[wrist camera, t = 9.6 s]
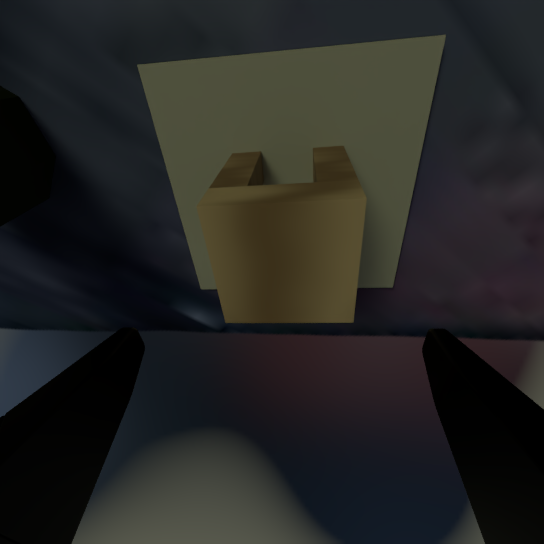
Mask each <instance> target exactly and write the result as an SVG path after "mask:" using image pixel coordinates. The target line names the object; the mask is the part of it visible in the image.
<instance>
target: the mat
mask: <svg viewBox="0 0 544 544" xmlns="http://www.w3.org/2000/svg"><path fill="white" fill-rule="evenodd" d="M445 37H446V35H439V36H429V37H418V38H408V39H398V40H388V41H377V42H367V43H357V44H347V45H336V46H326V47H316V48H306V49H295V50H285V51H275V52H264V53H254V54H244V55H234V56H223V57H213V58H203V59H193V60H182V61H172V62H162V63H152V64H141V65H137V66H138V70H139V73H140V77H141V80H142V84H143V87H144V91H145V94H146V98H147V101H148V105H149V108H150V112H151V115H152V119H153V122H154V126H155V129H156V133H157V136H158V140H159V143H160V147H161V150H162V154H163V157H164V161H165V164H166V168H167V171H168V175H169V178H170V182H171V185H172V189H173V193H174V196H175V200H176V203H177V207H178V210H179V214H180V217H181V221H182V224H183V228H184V231H185V235H186V238H187V242H188V245H189V249H190V252H191V256H192V259H193V263H194V266H195V270H196V273H197V277H198V280H199V284H200V287H201V289H217V287H216V283H215V279H214V275H213V271H212V267H211V263H210V259H209V255H208V251H207V247H206V243H205V239H204V235H203V231H202V227H201V223H200V219H199V215H198V212H197V208H196V206H197V205H198V203H199V202H200V200H201V199H202V197H203V196H204V194H205V193H206V192H207V190H208V189H209V187H210V186H211V184H212V183H213V181H214V180H215V178H216V177H217V175H218V174H219V172H220V171H221V169H222V168H223V166H224V165H225V163H226V162H227V160H228V159H229V157H230V156H231V155H232V153H245V152H259V151H261V156H262V166H263V176H264V182H263V185H276V184H294V183H312V182H313V148H317V147H331V146H344V148H345V150H346V153H347V155H348V157H349V159H350V162H351V164H352V166H353V168H354V171H355V173H356V175H357V177H358V180H359V182H360V184H361V186H362V189H363V191H364V193H365V195H366V198H367V202H366V211H365V220H364V229H363V238H362V248H361V257H360V266H359V275H358V285H357V288H393V284H394V279H395V274H396V270H397V265H398V260H399V255H400V251H401V246H402V241H403V236H404V232H405V227H406V222H407V217H408V213H409V208H410V203H411V198H412V194H413V189H414V184H415V179H416V175H417V170H418V165H419V160H420V156H421V151H422V146H423V142H424V137H425V132H426V127H427V123H428V118H429V113H430V108H431V104H432V99H433V94H434V89H435V85H436V80H437V75H438V70H439V66H440V61H441V56H442V51H443V47H444V42H445Z"/></svg>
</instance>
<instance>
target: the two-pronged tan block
mask: <svg viewBox="0 0 544 544" xmlns="http://www.w3.org/2000/svg"><path fill="white" fill-rule="evenodd" d="M263 182H264V176H263V166H262V156H261V151H259V152H245V153H232V155H231V156H230V157H229V159H228V160H227V162H226V163H225V165H224V166H223V168H222V169H221V171H220V172H219V174H218V175H217V177H216V178H215V180H214V181H213V183H212V184H211V186H210V187H209V189H208V190H207V192H206V193H205V194H204V196H203V197H202V199H201V200H200V202H199V203H198V205H197V206H196V208H197V212H198V215H199V219H200V223H201V227H202V231H203V235H204V239H205V243H206V247H207V251H208V255H209V259H210V263H211V267H212V271H213V275H214V279H215V283H216V287H217V290H218V294H219V298H220V302H221V306H222V310H223V314H224V318H225V322H226V323H353V322H354V312H355V303H356V294H357V285H358V275H359V266H360V257H361V248H362V238H363V229H364V220H365V211H366V202H367V198H366V195H365V193H364V191H363V189H362V186H361V184H360V182H359V180H358V177H357V175H356V173H355V171H354V168H353V166H352V164H351V162H350V159H349V157H348V155H347V153H346V150H345V148H344V146H331V147H317V148H313V182H312V183H294V184H276V185H263Z"/></svg>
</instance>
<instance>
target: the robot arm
mask: <svg viewBox="0 0 544 544" xmlns="http://www.w3.org/2000/svg"><path fill="white" fill-rule="evenodd" d="M144 351H145V346H144V342H143V341H142V338H141V336H140V334H139V332H138V330H137V329H136V328H121V329H120V330H118V331H117V332H116V333H114V334H113V335H112V336H110V337H109V338H108V339H106V340H105V341H103V342H102V343H101V344H99V345H98V346H97V347H95V348H94V349H93V350H91V351H90V352H88V353H87V354H86V355H84V356H83V357H82V358H80V359H79V360H78V361H76V362H75V363H74V364H72V365H71V366H70V367H68V368H67V369H65V370H64V371H63V372H61V373H60V374H59V375H57V376H56V377H55V378H53V379H52V380H51V381H49V382H48V383H47V384H45V385H44V386H42V387H41V388H40V389H38V390H37V391H36V392H34V393H33V394H32V395H30V396H29V397H27V398H26V399H25V400H24V401H22V402H21V403H19V404H18V405H17V406H15V407H14V408H13V409H11V410H10V411H9V412H7V413H6V414H5V416H2V417H0V544H72V541H73V539H74V536H75V534H76V531H77V529H78V526H79V524H80V521H81V519H82V516H83V514H84V511H85V509H86V507H87V504H88V501H89V499H90V497H91V494H92V492H93V489H94V487H95V484H96V482H97V479H98V477H99V474H100V472H101V470H102V467H103V464H104V462H105V459H106V457H107V455H108V452H109V450H110V447H111V445H112V442H113V440H114V438H115V435H116V433H117V430H118V428H119V425H120V423H121V420H122V418H123V415H124V413H125V410H126V408H127V405H128V403H129V400H130V397H131V395H132V392H133V389H134V385H135V382H136V379H137V375H138V372H139V368H140V365H141V361H142V357H143V354H144ZM422 353H423V358H424V362H425V366H426V370H427V374H428V379H429V382H430V387H431V391H432V395H433V399H434V402H435V406H436V409H437V412H438V415H439V418H440V421H441V423H442V426H443V429H444V432H445V434H446V437H447V440H448V443H449V445H450V448H451V451H452V454H453V456H454V459H455V462H456V465H457V467H458V470H459V473H460V475H461V478H462V481H463V484H464V487H465V489H466V492H467V495H468V498H469V500H470V503H471V506H472V509H473V511H474V514H475V517H476V519H477V522H478V525H479V528H480V530H481V533H482V536H483V539H484V542H485V544H544V409H542V408H541V407H540V406H539V405H538V404H536V403H535V402H534V401H533V400H531V399H530V398H529V397H528V396H527V395H525V394H524V393H523V392H522V391H520V390H519V389H518V388H517V387H516V386H514V385H513V384H512V383H511V382H509V381H508V380H507V379H506V378H505V377H503V376H502V375H501V374H500V373H498V372H497V371H496V370H495V369H494V368H492V367H491V366H490V365H489V364H488V363H486V362H485V361H484V360H483V359H481V358H480V357H479V356H478V355H477V354H475V353H474V352H473V351H472V350H470V349H469V348H468V347H467V346H466V345H464V344H463V343H462V342H461V341H460V340H458V339H457V338H456V337H455V336H453V335H452V334H451V333H450V332H449V331H447V330H446V329H429V330H428V332H427V335H426V338H425V341H424V344H423V348H422Z"/></svg>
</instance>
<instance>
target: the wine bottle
mask: <svg viewBox="0 0 544 544" xmlns="http://www.w3.org/2000/svg"><path fill="white" fill-rule="evenodd" d="M55 158H56V156H55V154H54V153H53V151H52V150H51V148H50V146H49V145H48V143H47V142H46V140H45V138H44V137H43V135H42V134H41V132H40V130H39V129H38V127H37V126H36V124H35V122H34V121H33V119H32V118H31V116H30V114H29V113H28V111H27V110H26V108H25V106H24V105H23V103H22V102H21V100H20V98H19V97H18V96H16V95H15V94H13V93H11V92H10V91H8V90H6V89H4V88H3V87H1V86H0V226H2V225H4V224H5V223H7V222H9V221H11V220H12V219H14V218H16V217H17V216H19V215H21V214H23V213H24V212H26V211H28V210H29V209H31V208H33V207H35V206H36V205H38V204H40V203H41V202H43V201H45V200H47V199H48V198H49V195H50V189H51V183H52V176H53V170H54V164H55Z"/></svg>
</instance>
